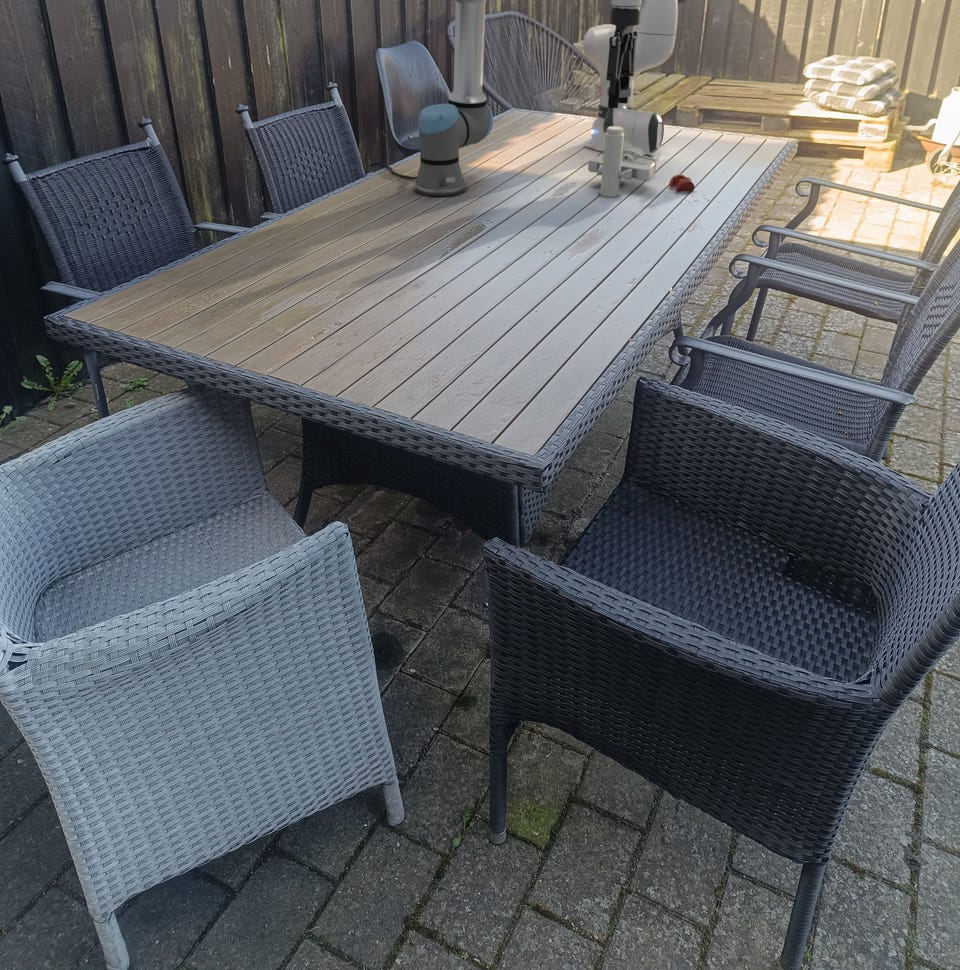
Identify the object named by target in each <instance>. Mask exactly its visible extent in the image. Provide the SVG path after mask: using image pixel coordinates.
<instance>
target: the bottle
mask: <svg viewBox="0 0 960 970" xmlns="http://www.w3.org/2000/svg"><path fill="white" fill-rule="evenodd" d="M623 141H624V133H623V128H622V127H618V126H611V127H608V128H607V132H606V133H605V142H604V152H603V155H602V156H603V166H602V175H601V179H600V193H599V195H600V196H602V197H607V198H614V197H615V198H616V197H618V196H619V193H620V191H619V190H620V184H621V183H620V182H621V179H620V178H618V176H619V175H618V173H619V172H620V171H621V162H622V152H623Z"/></svg>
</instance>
